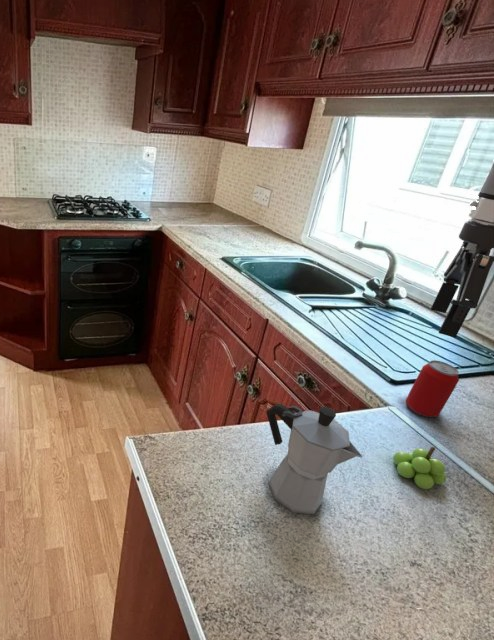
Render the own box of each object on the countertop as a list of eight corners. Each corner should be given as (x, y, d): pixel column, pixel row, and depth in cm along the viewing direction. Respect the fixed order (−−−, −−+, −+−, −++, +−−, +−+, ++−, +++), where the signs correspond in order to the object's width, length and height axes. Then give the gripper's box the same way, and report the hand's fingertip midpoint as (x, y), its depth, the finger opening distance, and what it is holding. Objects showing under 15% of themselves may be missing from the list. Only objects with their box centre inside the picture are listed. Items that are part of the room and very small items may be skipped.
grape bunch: (429, 464, 78) (446, 436, 75) (450, 498, 72) (470, 468, 68) (385, 455, 80) (400, 427, 76) (402, 487, 73) (419, 458, 69)
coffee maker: (341, 503, 68) (382, 422, 60) (320, 534, 63) (362, 449, 55) (262, 450, 78) (288, 373, 70) (237, 473, 72) (263, 392, 64)
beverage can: (436, 407, 96) (459, 365, 90) (439, 423, 90) (465, 380, 85) (403, 396, 98) (424, 355, 93) (404, 411, 93) (427, 368, 88)
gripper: (456, 209, 87) (416, 298, 97) (480, 231, 68) (427, 340, 77) (499, 216, 84) (454, 307, 94) (539, 241, 64) (476, 353, 74)
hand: (442, 322), depth 85 cm, fingers open, 13 cm apart
